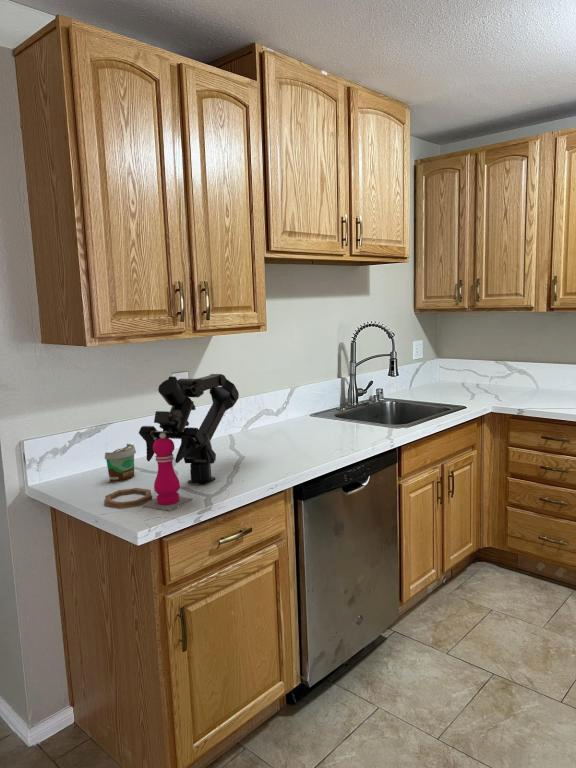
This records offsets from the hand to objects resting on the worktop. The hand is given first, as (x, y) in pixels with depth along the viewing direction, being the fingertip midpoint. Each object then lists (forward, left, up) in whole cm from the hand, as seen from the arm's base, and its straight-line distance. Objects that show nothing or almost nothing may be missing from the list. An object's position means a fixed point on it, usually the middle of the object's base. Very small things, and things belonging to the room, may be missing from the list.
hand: (162, 461), depth 166 cm
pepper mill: (-1, 0, -12) cm, 12 cm away
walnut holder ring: (+1, -13, -13) cm, 18 cm away
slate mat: (-1, 0, -13) cm, 13 cm away
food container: (-15, -29, -13) cm, 35 cm away
